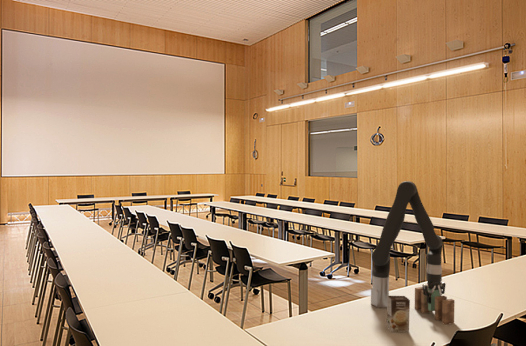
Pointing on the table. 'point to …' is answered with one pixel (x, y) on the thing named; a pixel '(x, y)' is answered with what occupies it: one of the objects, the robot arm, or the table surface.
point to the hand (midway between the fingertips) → (433, 302)
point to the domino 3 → (433, 300)
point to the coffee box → (398, 313)
